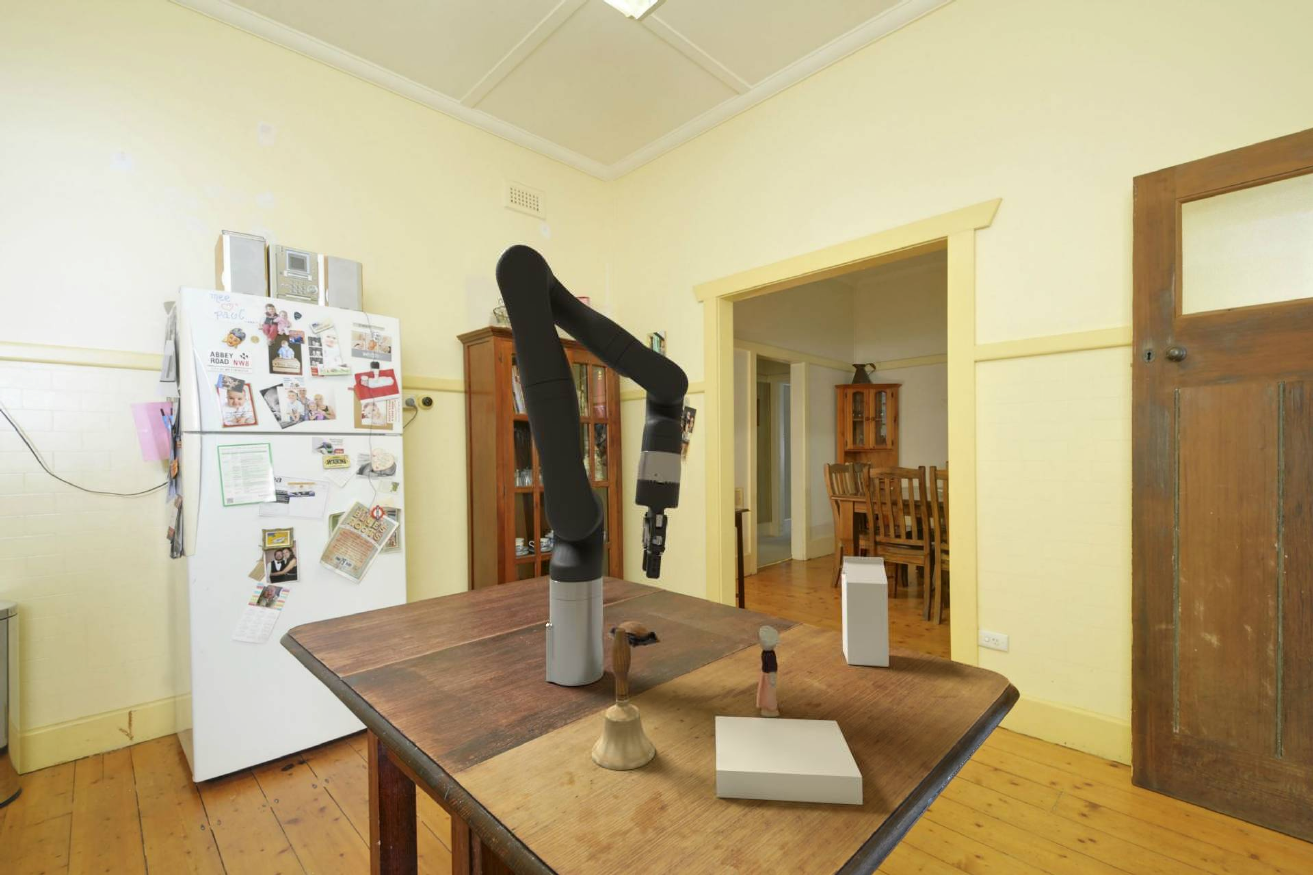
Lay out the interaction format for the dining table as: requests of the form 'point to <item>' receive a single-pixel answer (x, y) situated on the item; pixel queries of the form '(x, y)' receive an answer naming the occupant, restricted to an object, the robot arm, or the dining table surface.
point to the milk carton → (865, 611)
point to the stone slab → (785, 761)
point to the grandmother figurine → (768, 672)
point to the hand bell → (622, 719)
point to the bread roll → (636, 633)
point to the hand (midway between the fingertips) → (650, 574)
